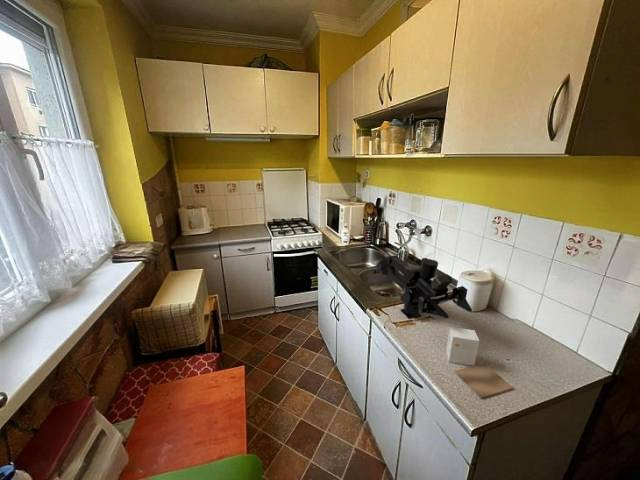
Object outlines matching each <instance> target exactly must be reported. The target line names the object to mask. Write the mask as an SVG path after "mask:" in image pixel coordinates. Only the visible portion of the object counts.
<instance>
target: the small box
mask: <svg viewBox="0 0 640 480" xmlns="http://www.w3.org/2000/svg"><path fill="white" fill-rule="evenodd" d="M479 346H480V339H479V337H478V335H477V333H476V330H475V329H468V328H461V327H454V326H453V327H452V326H449V329H448V336H447V342H446V349H445V354H446V357H447V361H448V363H453V364H457V365H458V364H459V365H464V366H468V367H471V366H475V365H476V364H475V363H476V359H477V354H478V350H479Z"/></svg>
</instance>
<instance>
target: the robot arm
mask: <svg viewBox="0 0 640 480" xmlns="http://www.w3.org/2000/svg"><path fill="white" fill-rule="evenodd" d="M420 263H421V264H420V267H418V266H413V265H410V264H409V263H407V262H406V261H404V260H403V259H401V258H399V256H398V255H396V254H395V255H388V256H386V257H385V258H384V259H382V260H380V261H378V262H377V264H376V270H377V271H378V272H379V273H380V274H381V275H385V276H387V277H389V278H390V279H391V280H392V281H393V282H394V284H396V285H397V286H398V288H400V289H401V290H402V291H403V293H401V294H400V301H401V302H402V303H404V304H403V308H402V309H401V308H400V312H401V313H402V314H403V316H405V317H406V318H408V319H412V318H413V319H414V318H418V317H422V314H429V315H434V316H438V317H441V318H445V319H449V318H450V317H449V314H448V313H447V312H446V311H445V310H444V309H443V308H442V307H441V306H440V304H443V303H447V302H453V303H454V304H456V306H458V307H460V308H462V309H463V310H466V311H467V312H469V313H472V312H473V311H472V310H473V309H472V307H471V305H470V304H469V302H468V300H467V293H468V289H467V288H466V287H465V286H464V285H460V286H457V287H454V288H452V292H451V293H449V294H448V292H449V288H448V286H450V284H451V283H452V282H453V280H454V279H453V277H452V276H451V275H449V274H448V273H447V274H442V275H438V276H437V271H438V267H439V261H437V260H435V259H431V258H427V257H422V258H421V262H420ZM432 279H433V280H432Z"/></svg>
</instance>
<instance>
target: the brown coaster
mask: <svg viewBox="0 0 640 480" xmlns="http://www.w3.org/2000/svg"><path fill="white" fill-rule="evenodd" d="M454 373H455V374H456V375H457V376H458V377H459V378H460V379H461V380H462V381H463V383H465V384H466V385H467V386H468V387H469V389H471V390H472V392H474V393H475V394H476V396H477V397H478V398H479V399H481V400H483V399H487V398H489V397H492V396H495V395H499V394H501V393H505V392H507V391H511V390H513V389H514V387H513V386H512V384H510V383H509V382H507V381H506V380H505V379H504V378H503V377H502V376H500V374H499V373H497V372H496V371H495V370H494V369H492V367H490V366H489V365H488V364H486V363H485V362H483V363H479V364H475V365H474V366H467V367H465V368H462V369H458V370H457V369H456V370H455V371H454Z"/></svg>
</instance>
